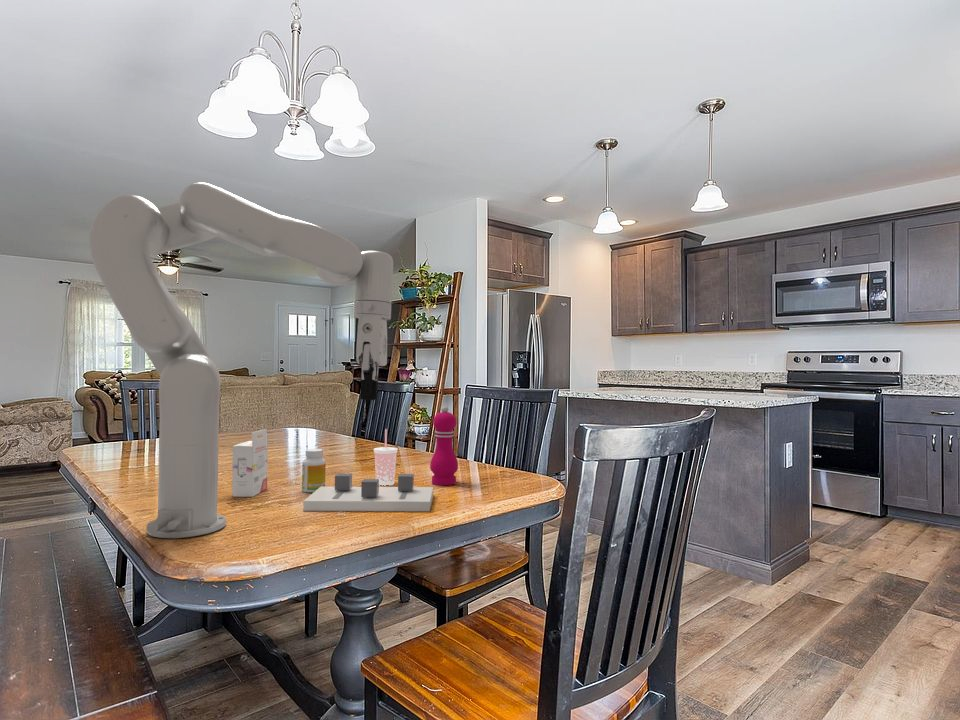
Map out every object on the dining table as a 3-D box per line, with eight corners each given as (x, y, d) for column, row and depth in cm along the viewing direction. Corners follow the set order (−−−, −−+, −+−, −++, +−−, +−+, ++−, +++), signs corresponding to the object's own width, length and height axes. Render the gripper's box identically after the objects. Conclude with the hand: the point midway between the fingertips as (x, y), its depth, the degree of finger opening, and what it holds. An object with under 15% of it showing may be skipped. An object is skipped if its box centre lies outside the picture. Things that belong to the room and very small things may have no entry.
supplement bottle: (329, 489, 133) (330, 449, 133) (313, 493, 128) (314, 452, 128) (313, 487, 135) (314, 447, 135) (296, 491, 130) (297, 450, 131)
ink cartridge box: (247, 488, 133) (248, 427, 133) (267, 489, 132) (268, 428, 133) (230, 497, 124) (231, 432, 124) (252, 497, 124) (253, 432, 124)
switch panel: (429, 511, 114) (429, 501, 114) (303, 510, 113) (303, 500, 113) (433, 495, 128) (433, 486, 128) (320, 495, 127) (320, 486, 127)
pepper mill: (462, 482, 143) (463, 405, 144) (449, 487, 137) (450, 407, 137) (438, 479, 146) (439, 404, 147) (424, 484, 140) (425, 406, 140)
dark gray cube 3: (412, 490, 122) (412, 476, 122) (397, 490, 122) (398, 476, 122) (413, 488, 125) (413, 473, 125) (399, 487, 125) (399, 473, 125)
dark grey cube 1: (349, 490, 122) (349, 476, 122) (334, 490, 121) (334, 476, 122) (351, 487, 125) (352, 473, 125) (337, 487, 124) (337, 473, 125)
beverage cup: (390, 487, 136) (391, 430, 137) (368, 485, 138) (369, 429, 138) (401, 482, 142) (401, 428, 142) (379, 480, 144) (380, 427, 144)
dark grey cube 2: (376, 497, 116) (376, 481, 116) (361, 497, 116) (361, 481, 116) (378, 493, 119) (378, 479, 119) (363, 493, 119) (364, 478, 119)
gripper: (385, 307, 107) (380, 402, 106) (395, 316, 122) (392, 398, 121) (346, 306, 107) (341, 400, 106) (362, 314, 122) (358, 397, 121)
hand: (368, 399), depth 114 cm, fingers closed
